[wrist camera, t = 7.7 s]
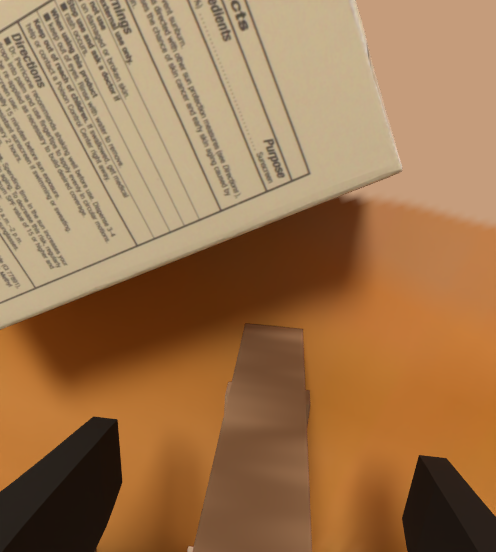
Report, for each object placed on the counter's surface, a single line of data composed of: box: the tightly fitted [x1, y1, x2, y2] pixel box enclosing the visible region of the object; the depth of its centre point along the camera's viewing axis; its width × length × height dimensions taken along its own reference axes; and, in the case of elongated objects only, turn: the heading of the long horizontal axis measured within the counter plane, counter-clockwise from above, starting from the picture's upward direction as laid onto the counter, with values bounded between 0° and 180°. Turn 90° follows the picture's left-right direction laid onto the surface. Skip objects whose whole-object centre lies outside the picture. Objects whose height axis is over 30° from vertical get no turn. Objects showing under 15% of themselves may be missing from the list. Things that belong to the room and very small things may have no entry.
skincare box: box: [0, 0, 402, 330], centre depth 11 cm, size 6×4×12 cm
